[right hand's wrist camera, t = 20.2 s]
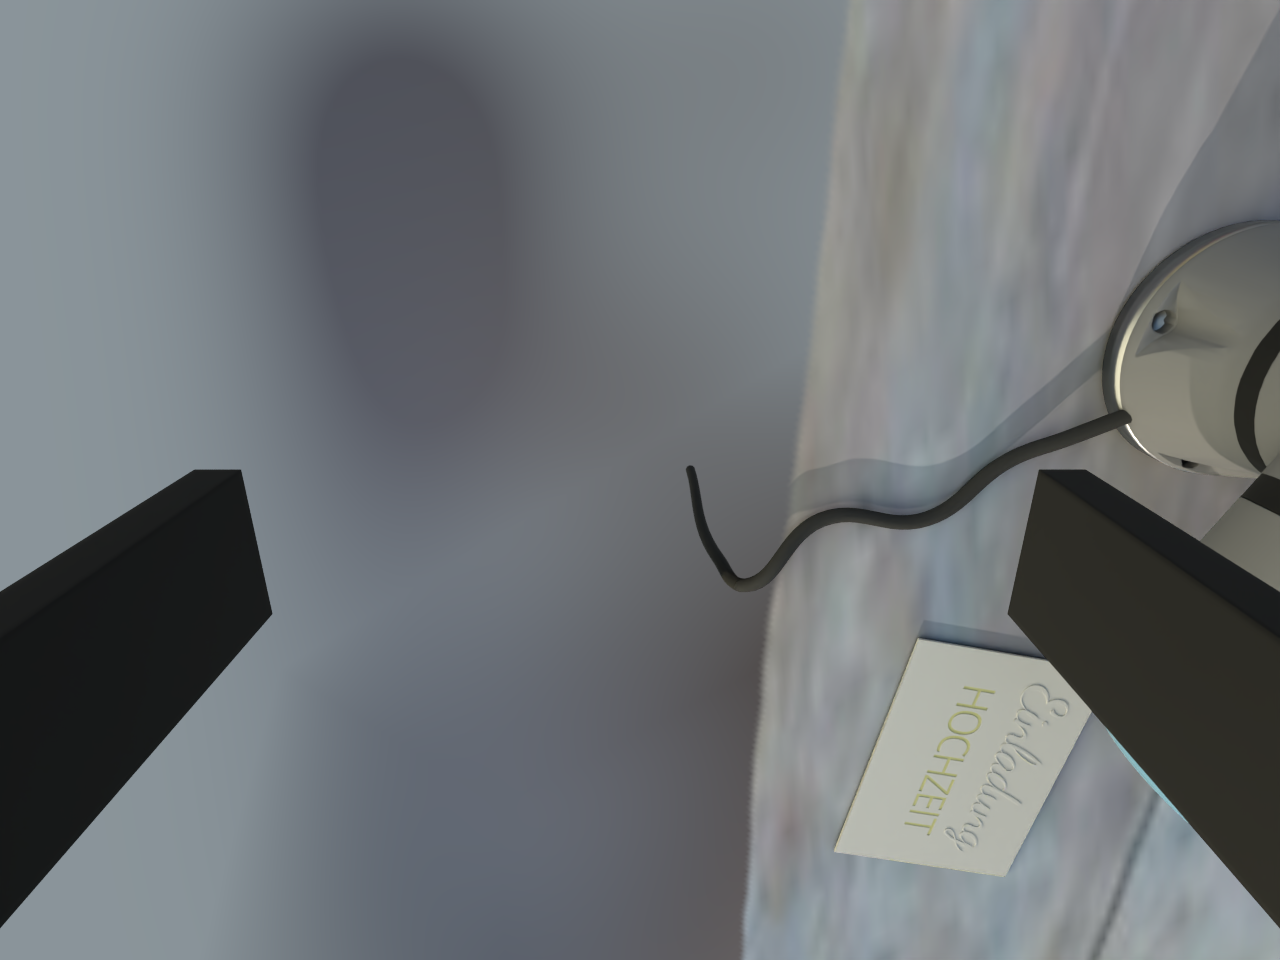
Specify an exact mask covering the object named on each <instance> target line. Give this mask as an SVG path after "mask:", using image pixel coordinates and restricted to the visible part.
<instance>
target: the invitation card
mask: <svg viewBox="0 0 1280 960" xmlns="http://www.w3.org/2000/svg"><path fill="white" fill-rule="evenodd" d="M1091 712H1092V711H1091V710H1090V708H1089V707H1088V706H1087V705H1086V704H1085V703H1084V702H1083V700H1082V699H1081V698H1080V697H1079V696H1078V695H1077V693H1076V692H1075V691H1074V690H1073V689H1072V688H1071V687H1070V685H1069V684H1068V683H1067V682H1066V681H1065V680H1064V678H1063V677H1062V676H1061V675H1060V674H1059V673H1058V672H1057V670H1056V669H1055V668H1054V667H1053V666H1052V665H1051V663H1050V662H1049V661H1048V660H1046V659H1040V658H1034V657H1028V656H1022V655H1017V654H1011V653H1005V652H999V651H993V650H987V649H981V648H975V647H969V646H964V645H958V644H952V643H946V642H940V641H934V640H928V639H922V638H918V639H917V642H916V644H915V647H914V649H913V652H912V654H911V657H910V659H909V662H908V664H907V667H906V669H905V672H904V674H903V677H902V680H901V682H900V685H899V687H898V690H897V692H896V695H895V697H894V700H893V702H892V705H891V707H890V710H889V712H888V715H887V717H886V720H885V722H884V725H883V727H882V730H881V733H880V735H879V738H878V740H877V743H876V745H875V748H874V750H873V753H872V755H871V758H870V760H869V763H868V765H867V768H866V770H865V773H864V775H863V778H862V780H861V783H860V785H859V788H858V791H857V793H856V796H855V798H854V801H853V803H852V806H851V808H850V811H849V813H848V816H847V818H846V821H845V823H844V826H843V828H842V831H841V833H840V836H839V838H838V841H837V843H836V846H835V849H834V852H838V853H845V854H852V855H859V856H866V857H872V858H879V859H886V860H893V861H900V862H907V863H913V864H920V865H927V866H934V867H941V868H947V869H954V870H961V871H968V872H975V873H981V874H988V875H995V876H1002V877H1005V876H1006V874H1007V872H1008V870H1009V868H1010V866H1011V864H1012V862H1013V861H1014V859H1015V857H1016V855H1017V853H1018V851H1019V849H1020V847H1021V845H1022V843H1023V841H1024V840H1025V838H1026V836H1027V834H1028V832H1029V830H1030V828H1031V826H1032V824H1033V822H1034V820H1035V819H1036V817H1037V815H1038V813H1039V811H1040V809H1041V807H1042V805H1043V803H1044V801H1045V799H1046V798H1047V796H1048V794H1049V792H1050V790H1051V788H1052V786H1053V784H1054V782H1055V780H1056V779H1057V777H1058V775H1059V773H1060V771H1061V769H1062V767H1063V765H1064V763H1065V761H1066V759H1067V758H1068V756H1069V754H1070V752H1071V750H1072V748H1073V746H1074V744H1075V742H1076V740H1077V738H1078V737H1079V735H1080V733H1081V731H1082V729H1083V727H1084V725H1085V723H1086V721H1087V719H1088V717H1089V716H1090V714H1091Z"/></svg>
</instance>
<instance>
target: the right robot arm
mask: <svg viewBox="0 0 1280 960" xmlns="http://www.w3.org/2000/svg"><path fill="white" fill-rule="evenodd" d="M1102 385H1103V394H1104V399H1105V403H1106V407H1107V410H1108V413H1109V414H1108V415H1105V416H1103V417H1100V418H1098V419H1095V420H1092V421H1090V422H1087V423H1085V424H1082V425H1080V426H1077V427H1074V428H1072V429H1069V430H1066V431H1064V432H1061V433H1058V434H1055V435H1052V436H1049V437H1046V438H1043V439H1040V440H1037V441H1034V442H1031V443H1028V444H1025V445H1023V446H1020V447H1018V448H1016V449H1014V450H1011V451H1009V452H1008V453H1006V454H1004V455H1002V456H1000V457H999V458H997V459H995V460H994V461H993V462H991V463H990V464H988V465H987V466H986V467H984V468H983V469H982V470H981V471H980V472H978V473H977V474H976V475H975V476H974V477H973V478H972V479H971V480H970V481H969V482H968V483H967V484H965V485H964V486H963V487H962V488H961V489H960V490H959V491H958V492H957V493H956V494H954V495H953V496H952V497H951V498H950V499H948V500H947V501H946V502H944V503H942V504H941V505H939V506H937V507H935V508H933V509H931V510H928V511H926V512H923V513H919V514H915V515H890V514H885V513H880V512H875V511H870V510H864V509H857V508H837V509H831V510H827V511H824V512H821V513H818V514H816V515H814V516H812V517H810V518H808V519H807V520H805V521H804V522H802V523H801V524H800V525H799V526H798V527H796V528H795V529H794V530H793V531H792V532H791V534H790V535H789V536H788V537H787V538H786V539H785V541H784V542H783V543H782V545H781V546H780V547H779V549H778V550H777V552H776V553H775V554H774V556H773V557H772V559H771V560H770V561H769V563H768V564H767V565H766V566H765V567H764V568H763V569H762V570H761V571H760V572H759V573H758V574H756V575H755V576H752V577H750V578H746V579H743V578H739V577H737V575H736V574H735V573H734V572H733V570H732V568H731V567H730V565H729V563H728V561H727V559H726V558H725V557H724V555H723V554H722V552H721V551H720V549H719V548H718V546H717V545H716V543H715V541H714V539H713V537H712V535H711V533H710V531H709V528H708V525H707V522H706V519H705V515H704V511H703V506H702V500H701V494H700V488H699V483H698V478H697V474H696V471H695V468H694V467H693V466H692V465H689V466H687V468H686V473H687V477H688V481H689V487H690V493H691V501H692V507H693V513H694V519H695V523H696V527H697V531H698V534H699V536H700V539H701V541H702V544H703V546H704V548H705V550H706V552H707V553H708V555H709V556H710V558H711V560H712V561H713V563H714V564H715V566H716V568H717V569H718V572H719V573H720V575H721V577H722V579H723V580H724V582H725V583H726V584H727V585H728V586H729V587H731V588H732V589H733V590H735V591H739V592H750V591H755V590H758V589H760V588H763V587H764V586H765V585H767V584H768V583H770V582H771V581H772V580H773V579H774V578H775V577H776V576H777V574H778V573H779V572H780V571H781V569H782V568H783V567H784V565H785V564H786V563H787V561H788V560H789V558H790V557H791V556H792V554H793V553H794V552H795V550H796V549H797V548H798V546H799V545H800V544H801V543H802V542H803V541H804V540H805V539H806V538H807V537H808V536H809V535H810V534H812V533H813V532H815V531H816V530H818V529H820V528H822V527H824V526H827V525H830V524H834V523H840V522H857V523H863V524H869V525H874V526H879V527H885V528H890V529H917V528H922V527H926V526H930V525H933V524H935V523H938V522H940V521H942V520H944V519H946V518H948V517H950V516H951V515H953V514H955V513H956V512H957V511H959V510H960V509H961V508H963V507H964V506H965V505H966V504H967V503H969V502H970V501H971V500H972V499H973V498H974V497H975V496H976V495H977V494H978V493H979V492H980V491H982V490H983V489H984V488H985V487H986V486H987V485H988V484H989V483H990V482H992V481H993V480H994V479H995V478H997V477H998V476H999V475H1001V474H1002V473H1004V472H1005V471H1007V470H1008V469H1010V468H1012V467H1014V466H1015V465H1017V464H1019V463H1022V462H1024V461H1026V460H1029V459H1031V458H1034V457H1037V456H1040V455H1043V454H1046V453H1049V452H1052V451H1056V450H1059V449H1062V448H1065V447H1068V446H1070V445H1073V444H1076V443H1079V442H1081V441H1084V440H1087V439H1089V438H1092V437H1094V436H1097V435H1100V434H1102V433H1105V432H1108V431H1110V430H1113V429H1115V428H1117V429H1118V431H1119V432H1120V433H1121V434H1122V436H1123V437H1124V438H1125V439H1126V440H1127V441H1128V442H1129V443H1130V444H1131V445H1133V446H1134V447H1135V448H1137V449H1138V450H1140V451H1141V452H1143V453H1145V454H1147V455H1148V456H1150V457H1152V458H1154V459H1156V460H1158V461H1160V462H1162V463H1164V464H1166V465H1168V466H1170V467H1173V468H1175V469H1179V470H1182V471H1186V472H1191V473H1197V474H1207V475H1221V476H1230V477H1242V478H1254V479H1256V480H1255V481H1254V482H1253V484H1252V485H1251V486H1250V487H1249V488H1248V489H1247V490H1246V491H1245V493H1244V494H1243V495H1242V496H1241V497H1240V498H1239V499H1238V500H1237V501H1236V502H1235V503H1234V504H1233V505H1232V506H1231V508H1230V509H1229V510H1228V511H1227V512H1226V513H1225V514H1224V515H1223V516H1222V518H1221V519H1220V520H1219V521H1218V522H1217V523H1216V524H1215V525H1214V526H1213V527H1212V529H1211V530H1210V531H1209V532H1208V533H1207V534H1206V535H1205V536H1204V537H1203V539H1202V540H1201V541H1198V540H1197V539H1195V538H1193V537H1192V536H1190V535H1189V534H1187V533H1185V532H1184V531H1182V530H1181V529H1179V528H1178V527H1176V526H1174V525H1173V524H1171V523H1170V522H1168V521H1166V520H1165V519H1163V518H1162V517H1160V516H1158V515H1157V514H1155V513H1154V512H1152V511H1151V510H1149V509H1147V508H1146V507H1144V506H1143V505H1141V504H1139V503H1138V502H1136V501H1135V500H1133V499H1131V498H1130V497H1128V496H1127V495H1125V494H1123V493H1122V492H1120V491H1119V490H1117V489H1116V488H1114V487H1112V486H1111V485H1109V484H1108V483H1106V482H1104V481H1103V480H1101V479H1100V478H1098V477H1096V476H1095V475H1093V474H1092V473H1090V472H1088V471H1087V470H1039V472H1038V477H1037V481H1036V486H1035V490H1034V495H1033V500H1032V504H1031V509H1030V513H1029V518H1028V522H1027V527H1026V532H1025V536H1024V541H1023V545H1022V550H1021V555H1020V559H1019V564H1018V568H1017V573H1016V578H1015V582H1014V587H1013V591H1012V596H1011V601H1010V605H1009V610H1008V615H1009V616H1010V617H1011V618H1012V620H1013V621H1014V622H1015V623H1016V624H1017V625H1018V627H1019V628H1020V629H1021V630H1022V631H1023V632H1024V633H1025V635H1026V636H1027V637H1028V638H1029V639H1030V640H1031V642H1032V643H1033V644H1034V645H1035V646H1036V647H1037V648H1038V650H1039V651H1040V652H1041V653H1042V654H1043V655H1044V657H1045V658H1046V659H1047V660H1048V661H1049V662H1050V663H1051V665H1052V666H1053V667H1054V668H1055V669H1056V670H1057V672H1058V673H1059V674H1060V675H1061V676H1062V677H1063V678H1064V680H1065V681H1066V682H1067V683H1068V684H1069V685H1070V687H1071V688H1072V689H1073V690H1074V691H1075V692H1076V693H1077V695H1078V696H1079V697H1080V698H1081V699H1082V700H1083V702H1084V703H1085V704H1086V705H1087V706H1088V707H1089V708H1090V710H1091V711H1092V712H1093V713H1094V714H1095V715H1096V717H1097V718H1098V719H1099V720H1100V721H1101V722H1102V723H1103V725H1104V726H1105V727H1106V729H1107V731H1108V732H1109V734H1110V735H1111V737H1112V738H1113V740H1114V741H1115V743H1116V744H1117V746H1118V747H1119V749H1120V750H1121V751H1122V753H1123V754H1124V755H1125V756H1126V758H1127V759H1128V760H1129V762H1130V763H1131V764H1132V765H1133V766H1134V768H1135V769H1136V770H1137V771H1138V772H1139V774H1140V775H1141V776H1142V777H1143V778H1144V779H1145V780H1146V781H1147V783H1148V784H1149V785H1150V786H1151V787H1152V788H1153V789H1154V790H1155V791H1156V792H1157V793H1158V794H1159V795H1160V796H1161V797H1162V798H1163V800H1164V801H1165V802H1166V803H1167V804H1168V805H1169V806H1170V807H1171V808H1173V809H1174V810H1175V811H1176V812H1177V813H1178V814H1179V815H1180V816H1181V817H1182V818H1183V819H1184V820H1185V821H1186V822H1188V823H1189V824H1190V825H1191V826H1192V827H1193V829H1194V830H1195V831H1196V832H1197V833H1198V834H1199V835H1200V837H1201V838H1202V839H1203V840H1204V841H1205V842H1206V844H1207V845H1208V846H1209V847H1210V848H1211V849H1212V850H1213V852H1214V853H1215V854H1216V855H1217V856H1218V857H1219V859H1220V860H1221V861H1222V862H1223V863H1224V864H1225V865H1226V867H1227V868H1228V869H1229V870H1230V871H1231V872H1232V874H1233V875H1234V876H1235V877H1236V878H1237V879H1238V880H1239V882H1240V883H1241V884H1242V885H1243V886H1244V887H1245V889H1246V890H1247V891H1248V892H1249V893H1250V894H1251V895H1252V897H1253V898H1254V899H1255V900H1256V901H1257V902H1258V904H1259V905H1260V906H1261V907H1262V908H1263V909H1264V910H1265V912H1266V913H1267V914H1268V915H1269V916H1270V917H1271V919H1272V920H1273V921H1274V922H1275V923H1276V924H1277V925H1278V927H1279V928H1280V221H1278V220H1259V221H1249V222H1243V223H1238V224H1234V225H1230V226H1227V227H1224V228H1220V229H1218V230H1215V231H1213V232H1210V233H1208V234H1205V235H1203V236H1201V237H1199V238H1197V239H1195V240H1193V241H1192V242H1190V243H1188V244H1187V245H1185V246H1183V247H1182V248H1180V249H1179V250H1177V251H1176V252H1175V253H1173V254H1172V255H1170V256H1169V257H1168V258H1167V259H1165V260H1164V261H1163V262H1162V263H1161V264H1159V265H1158V266H1157V267H1156V268H1155V269H1154V270H1153V271H1152V272H1151V273H1150V274H1149V275H1148V276H1147V277H1146V278H1145V279H1144V280H1143V282H1142V283H1141V284H1140V285H1139V286H1138V287H1137V289H1136V290H1135V291H1134V293H1133V294H1132V295H1131V297H1130V298H1129V300H1128V301H1127V303H1126V304H1125V306H1124V307H1123V309H1122V311H1121V313H1120V314H1119V316H1118V318H1117V320H1116V322H1115V325H1114V327H1113V329H1112V332H1111V334H1110V337H1109V340H1108V343H1107V347H1106V351H1105V355H1104V361H1103V369H1102ZM271 615H272V610H271V605H270V601H269V596H268V591H267V587H266V582H265V578H264V573H263V568H262V564H261V559H260V555H259V550H258V545H257V541H256V536H255V532H254V527H253V523H252V518H251V513H250V509H249V504H248V500H247V495H246V490H245V486H244V481H243V477H242V472H241V470H193V471H192V472H190V473H188V474H187V475H185V476H184V477H182V478H181V479H179V480H177V481H176V482H174V483H173V484H171V485H169V486H168V487H166V488H164V489H163V490H161V491H160V492H158V493H157V494H155V495H153V496H152V497H150V498H149V499H147V500H145V501H144V502H142V503H141V504H139V505H137V506H136V507H134V508H133V509H131V510H130V511H128V512H126V513H125V514H123V515H122V516H120V517H118V518H117V519H115V520H114V521H112V522H110V523H109V524H107V525H106V526H104V527H102V528H101V529H99V530H98V531H96V532H95V533H93V534H91V535H90V536H88V537H87V538H85V539H83V540H82V541H80V542H79V543H77V544H75V545H74V546H72V547H71V548H69V549H68V550H66V551H64V552H63V553H61V554H60V555H58V556H56V557H55V558H53V559H52V560H50V561H48V562H47V563H45V564H44V565H42V566H40V567H39V568H37V569H36V570H34V571H32V572H31V573H29V574H28V575H26V576H25V577H23V578H21V579H20V580H18V581H17V582H15V583H13V584H12V585H10V586H9V587H7V588H6V589H4V590H2V591H1V592H0V928H1V927H2V925H3V924H4V923H5V922H6V921H7V920H8V919H9V917H10V916H11V915H12V914H13V913H14V912H15V910H16V909H17V908H18V907H19V906H20V905H21V904H22V902H23V901H24V900H25V899H26V898H27V897H28V895H29V894H30V893H31V892H32V891H33V890H34V889H35V887H36V886H37V885H38V884H39V883H40V882H41V880H42V879H43V878H44V877H45V876H46V875H47V874H48V872H49V871H50V870H51V869H52V868H53V867H54V865H55V864H56V863H57V862H58V861H59V860H60V859H61V857H62V856H63V855H64V854H65V853H66V852H67V850H68V849H69V848H70V847H71V846H72V845H73V844H74V842H75V841H76V840H77V839H78V838H79V837H80V835H81V834H82V833H83V832H84V831H85V830H86V829H87V827H88V826H89V825H90V824H91V823H92V822H93V820H94V819H95V818H96V817H97V816H98V815H99V814H100V812H101V811H102V810H103V809H104V808H105V807H106V805H107V804H108V803H109V802H110V801H111V800H112V798H113V797H114V796H115V795H116V794H117V793H118V792H119V790H120V789H121V788H122V787H123V786H124V785H125V783H126V782H127V781H128V780H129V779H130V778H131V777H132V775H133V774H134V773H135V772H136V771H137V770H138V768H139V767H140V766H141V765H142V764H143V763H144V762H145V760H146V759H147V758H148V757H149V756H150V755H151V753H152V752H153V751H154V750H155V749H156V748H157V746H158V745H159V744H160V743H161V742H162V741H163V740H164V738H165V737H166V736H167V735H168V734H169V733H170V732H171V730H172V729H173V728H174V727H175V726H176V725H177V723H178V722H179V721H180V720H181V719H182V718H183V717H184V715H185V714H186V713H187V712H188V711H189V710H190V708H191V707H192V706H193V705H194V704H195V703H196V702H197V700H198V699H199V698H200V697H201V696H202V695H203V693H204V692H205V691H206V690H207V689H208V688H209V687H210V685H211V684H212V683H213V682H214V681H215V680H216V678H217V677H218V676H219V675H220V674H221V673H222V672H223V670H224V669H225V668H226V667H227V666H228V665H229V663H230V662H231V661H232V660H233V659H234V658H235V656H236V655H237V654H238V653H239V652H240V651H241V650H242V648H243V647H244V646H245V645H246V644H247V643H248V641H249V640H250V639H251V638H252V637H253V636H254V635H255V633H256V632H257V631H258V630H259V629H260V628H261V627H262V625H263V624H264V623H265V622H266V621H267V620H268V618H269V617H270V616H271Z"/></svg>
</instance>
